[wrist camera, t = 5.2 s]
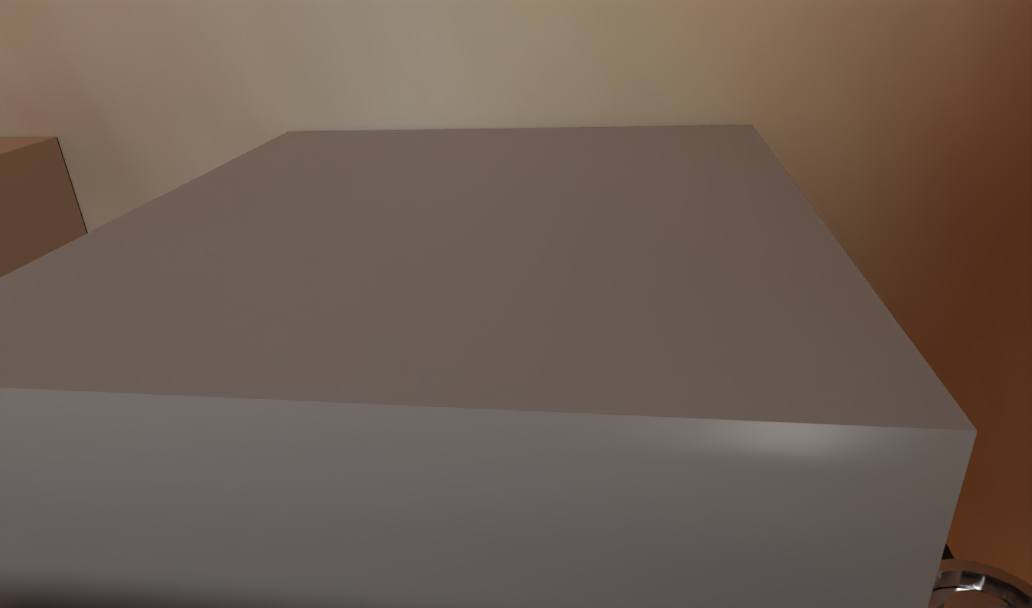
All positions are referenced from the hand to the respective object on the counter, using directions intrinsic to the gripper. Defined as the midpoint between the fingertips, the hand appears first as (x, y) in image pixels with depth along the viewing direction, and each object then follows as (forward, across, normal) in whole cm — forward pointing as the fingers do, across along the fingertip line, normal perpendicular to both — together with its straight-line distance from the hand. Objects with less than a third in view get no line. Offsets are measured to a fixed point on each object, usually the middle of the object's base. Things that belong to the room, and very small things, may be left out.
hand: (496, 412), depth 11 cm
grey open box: (+2, 0, 0) cm, 2 cm away
